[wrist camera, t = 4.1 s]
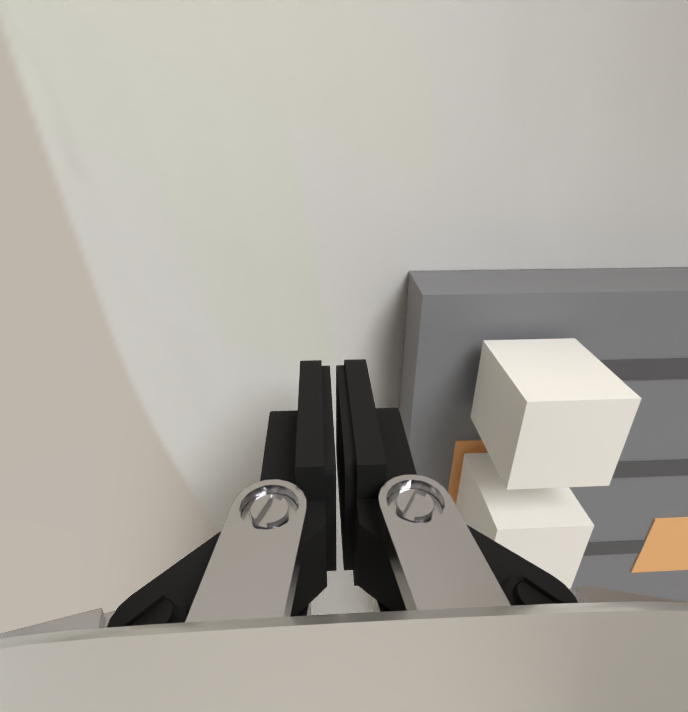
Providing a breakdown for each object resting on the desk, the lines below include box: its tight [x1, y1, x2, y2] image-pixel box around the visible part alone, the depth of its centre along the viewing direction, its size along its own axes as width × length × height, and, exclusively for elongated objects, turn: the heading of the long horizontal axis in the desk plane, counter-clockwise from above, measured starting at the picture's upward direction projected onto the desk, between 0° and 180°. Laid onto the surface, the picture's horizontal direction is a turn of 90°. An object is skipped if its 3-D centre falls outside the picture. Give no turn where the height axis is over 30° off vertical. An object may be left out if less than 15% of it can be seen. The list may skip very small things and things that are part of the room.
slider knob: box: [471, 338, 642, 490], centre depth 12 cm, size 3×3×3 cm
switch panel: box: [399, 267, 688, 602], centre depth 17 cm, size 14×15×2 cm
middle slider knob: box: [456, 453, 594, 589], centre depth 14 cm, size 3×3×3 cm
